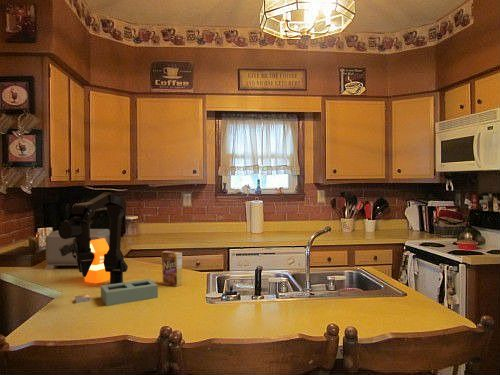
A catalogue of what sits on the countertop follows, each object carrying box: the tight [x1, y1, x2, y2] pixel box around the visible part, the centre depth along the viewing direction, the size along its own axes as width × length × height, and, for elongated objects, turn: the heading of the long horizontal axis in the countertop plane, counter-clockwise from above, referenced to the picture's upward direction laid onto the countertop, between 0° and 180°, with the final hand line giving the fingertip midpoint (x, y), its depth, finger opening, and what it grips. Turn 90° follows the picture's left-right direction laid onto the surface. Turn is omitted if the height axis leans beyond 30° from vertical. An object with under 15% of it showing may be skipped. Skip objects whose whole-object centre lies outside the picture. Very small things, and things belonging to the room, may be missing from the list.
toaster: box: [44, 228, 110, 271], centre depth 216 cm, size 19×35×20 cm, turn 90°
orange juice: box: [84, 238, 110, 284], centre depth 183 cm, size 8×9×20 cm
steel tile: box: [74, 294, 91, 304], centre depth 151 cm, size 4×5×2 cm
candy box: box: [161, 250, 183, 287], centre depth 175 cm, size 9×4×15 cm, turn 60°
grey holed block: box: [100, 278, 159, 307], centre depth 155 cm, size 12×20×5 cm, turn 122°
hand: (82, 274), depth 151 cm, fingers open, 9 cm apart
